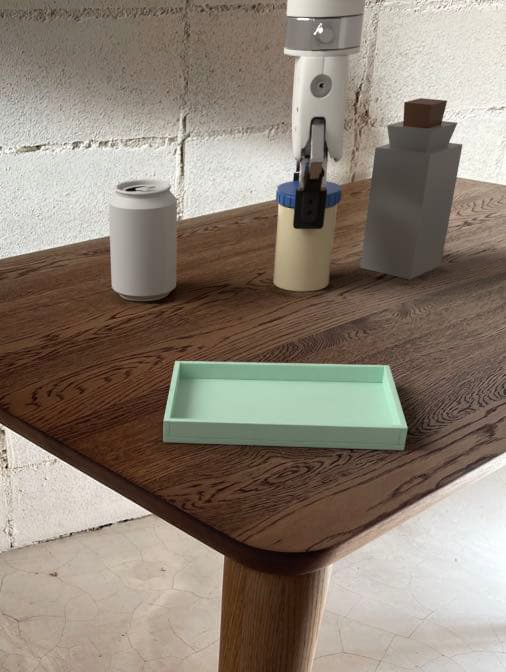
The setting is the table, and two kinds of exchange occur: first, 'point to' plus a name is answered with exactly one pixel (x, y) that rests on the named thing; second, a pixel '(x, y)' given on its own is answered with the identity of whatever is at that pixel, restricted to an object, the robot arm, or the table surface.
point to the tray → (284, 405)
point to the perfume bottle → (411, 192)
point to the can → (143, 239)
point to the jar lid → (288, 189)
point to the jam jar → (303, 252)
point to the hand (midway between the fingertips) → (306, 217)
